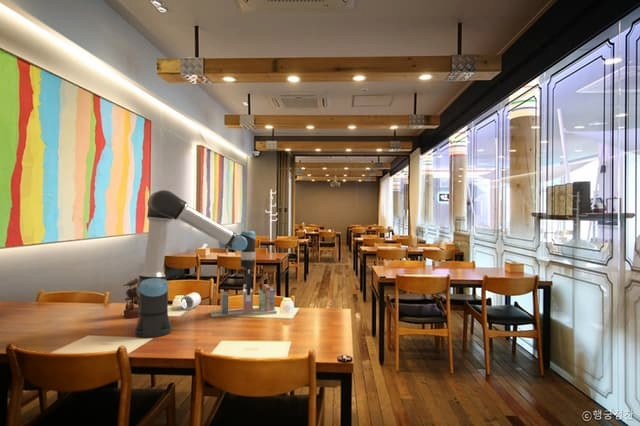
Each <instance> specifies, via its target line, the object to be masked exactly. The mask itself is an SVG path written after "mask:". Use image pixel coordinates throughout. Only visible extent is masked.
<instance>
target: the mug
mask: <svg viewBox="0 0 640 426" xmlns="http://www.w3.org/2000/svg"><path fill="white" fill-rule="evenodd" d="M180 299H181V302H182V300H183V299H185V300H186V303H187V307H186V308H185V309H186V310H185V309H184V310H185V311H189V310H191V309H193V308H195V307H197V306H199V304H201V301H202V297H201V295H200V294H199V293H198V292H194V291H193V292H190V293H188V294H187V295H184V296H183V297H181V298H180Z"/></svg>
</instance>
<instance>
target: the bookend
mask: <svg viewBox="0 0 640 426" xmlns="http://www.w3.org/2000/svg"><path fill="white" fill-rule="evenodd" d="M221 310H222V314H228V310H229V293H228V291H221Z"/></svg>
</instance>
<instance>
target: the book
mask: <svg viewBox="0 0 640 426" xmlns="http://www.w3.org/2000/svg"><path fill="white" fill-rule="evenodd" d="M245 300H246V289H243V288H242V309H243V311H244V313H253V308H254V291H253V290H252V288H251V301H245Z"/></svg>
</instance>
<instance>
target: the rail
mask: <svg viewBox="0 0 640 426" xmlns="http://www.w3.org/2000/svg"><path fill="white" fill-rule="evenodd" d="M275 294H276V293H275V289H274V288H273V287H271V286H270V285H269V284H263V289H259V290H258V307H253V313H244V311H243V308H232V309H229V308H228V314H222V309H217V310H216V309H215V310H210V318H211V319H217V318H218V319H219V318H230V317H232V318H234V317H247V316H258V315H259V314H263V315H273V314H274V315H275V314H276V313H278V311H277V310H276V308H275ZM259 316H260V315H259Z"/></svg>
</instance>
